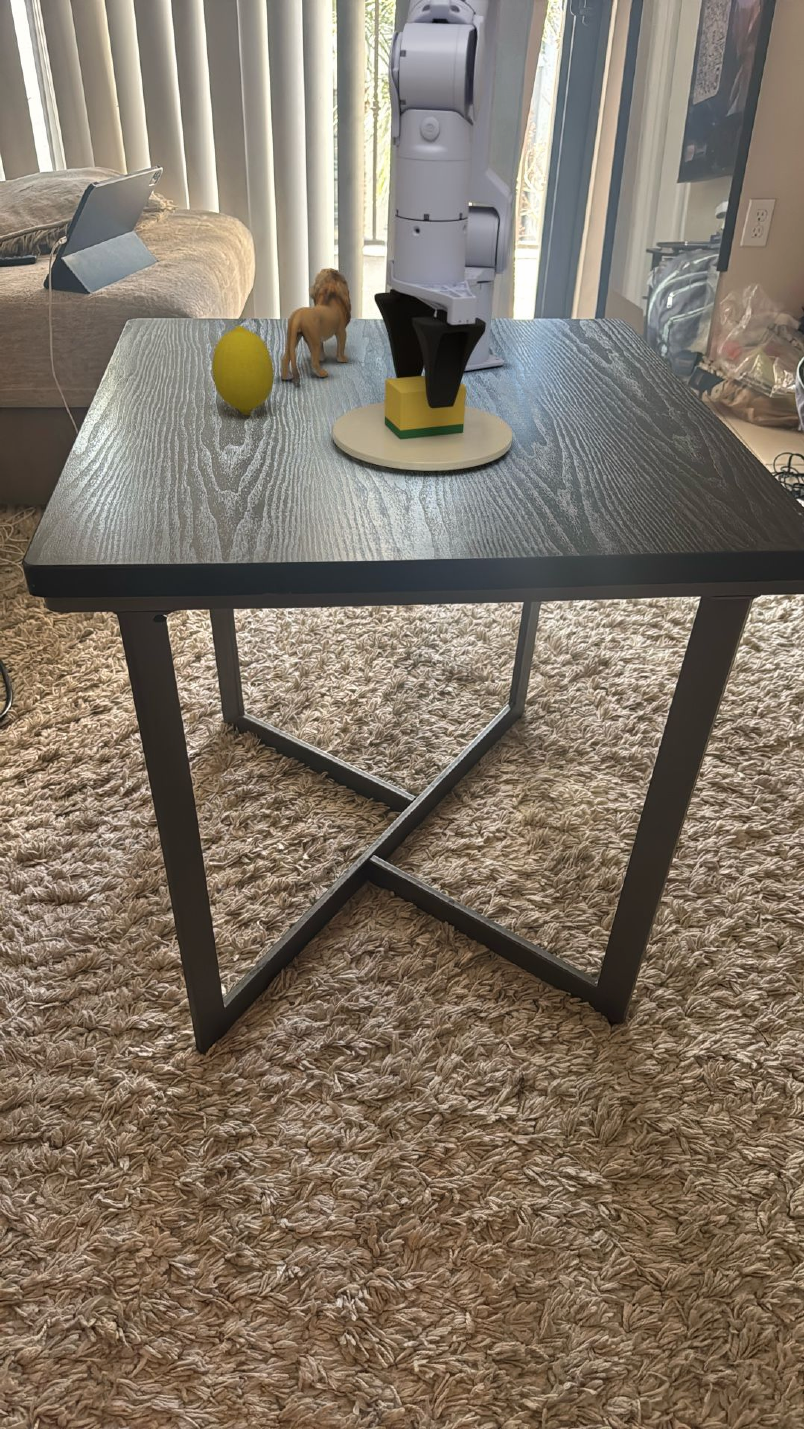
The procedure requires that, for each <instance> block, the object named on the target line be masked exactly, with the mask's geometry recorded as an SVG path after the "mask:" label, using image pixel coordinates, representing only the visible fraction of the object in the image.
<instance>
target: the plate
mask: <svg viewBox="0 0 804 1429" xmlns="http://www.w3.org/2000/svg"><path fill="white" fill-rule="evenodd" d="M513 437H514V435H513V430H512V428H511V426H510V425H509V424H508V423H507V422H506V421H505V420H503V419H502V418H500V417H498V416H497V415H495V414H493V413H491V412H488V411H485V410H483V409H480V408H476V407H474V406H469V405H465V415H464V428H463V433H455V434H445V435H436V436H427V437H418V438H409V439H399V438H398V437H397V436H396V435H395V434H394V433H393V432H392V431H391V430H390V429H389V428H388V427H387V426H386V425H385V401H383V402H376V403H371V404H367V405H364V406H363V405H362V406H360V407H357V408H354V409H351V410H349V411H347V412H345V413H343V414H341V415H340V416H339V417H338V418H337V419H336V420H335V422H334V423H333V426H332V439H333V441H334V443H335V444H336V446H337V447H338V448H339V449H340V450H342V452H344V453H346V454H348V455H349V456H352V457H353V458H356V459H357V460H361V461H362V462H366V463H370V464H374V465H377V466H382V467H387V468H391V469H392V468H393V469H399V470H409V471H425V472H426V471H451V470H452V471H453V470H461V469H467V468H468V469H469V468H471V467H472V468H473V467H477V466H482V465H484V464H487V463H490V462H493V461H495V460H497V459H500V458H501V457H502V456H505V454H506V453H508V452H509V450H510V448H511V447H512V443H513Z"/></svg>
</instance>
